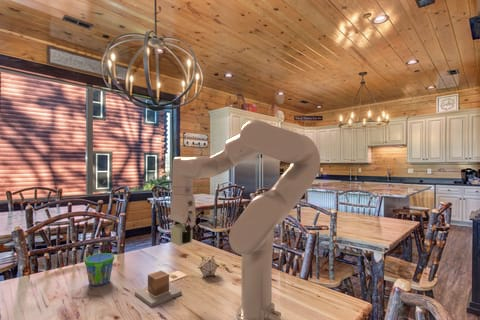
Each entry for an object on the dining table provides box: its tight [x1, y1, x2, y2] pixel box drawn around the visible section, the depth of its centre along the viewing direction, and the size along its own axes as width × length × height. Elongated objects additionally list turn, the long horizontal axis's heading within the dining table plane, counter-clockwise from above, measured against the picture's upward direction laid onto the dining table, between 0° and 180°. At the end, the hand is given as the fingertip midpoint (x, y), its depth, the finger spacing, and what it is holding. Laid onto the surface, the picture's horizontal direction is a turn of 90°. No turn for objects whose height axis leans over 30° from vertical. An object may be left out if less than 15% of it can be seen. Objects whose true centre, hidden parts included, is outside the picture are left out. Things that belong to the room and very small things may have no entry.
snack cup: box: [84, 252, 115, 287], centre depth 110 cm, size 16×10×10 cm
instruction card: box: [168, 270, 189, 284], centre depth 115 cm, size 7×10×1 cm
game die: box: [197, 255, 220, 279], centre depth 116 cm, size 9×8×10 cm
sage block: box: [170, 223, 194, 247], centre depth 99 cm, size 6×6×6 cm
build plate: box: [134, 283, 183, 308], centre depth 100 cm, size 12×12×1 cm
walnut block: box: [147, 270, 170, 296], centre depth 100 cm, size 6×6×6 cm
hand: (181, 239), depth 99 cm, fingers closed on sage block, 5 cm apart
